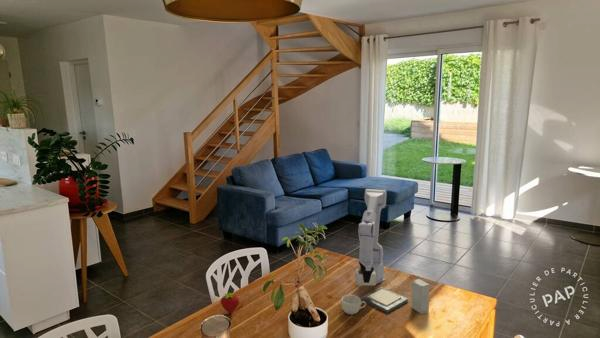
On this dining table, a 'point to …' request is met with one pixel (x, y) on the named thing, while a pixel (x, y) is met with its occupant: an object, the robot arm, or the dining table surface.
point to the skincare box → (420, 296)
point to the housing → (361, 282)
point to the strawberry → (229, 302)
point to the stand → (384, 299)
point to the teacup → (351, 304)
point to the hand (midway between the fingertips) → (365, 279)
